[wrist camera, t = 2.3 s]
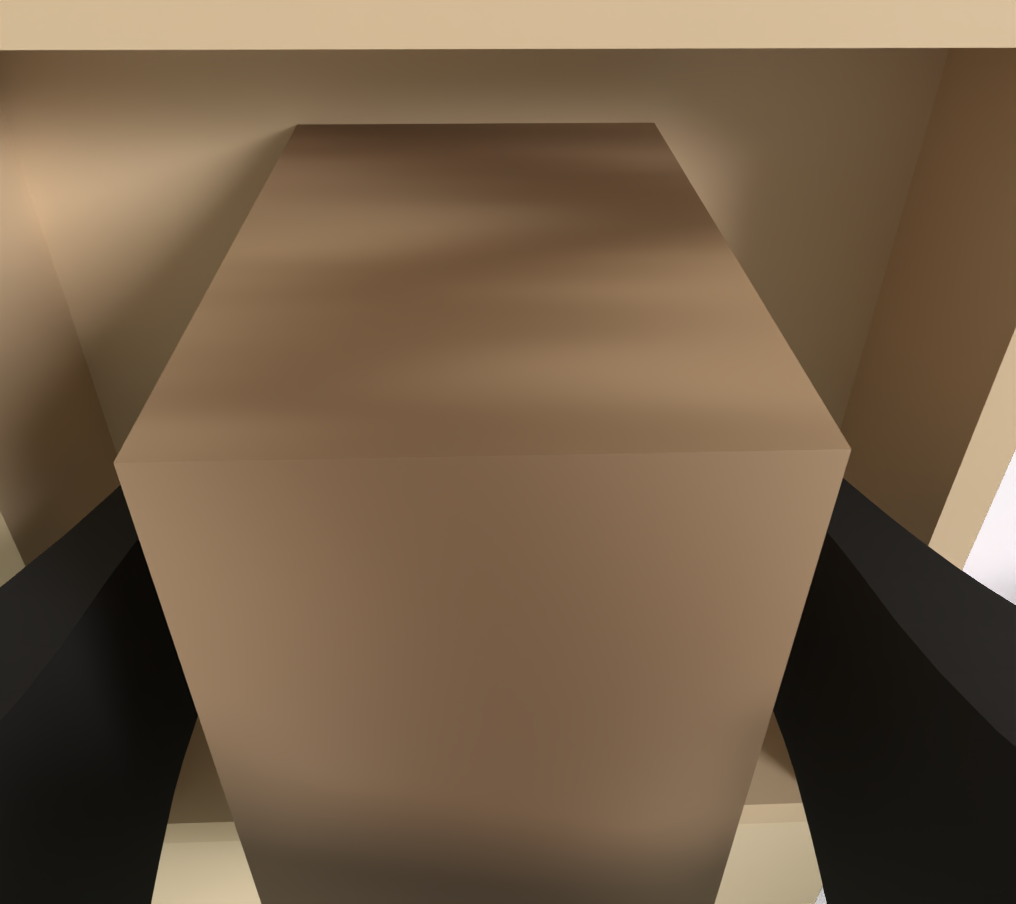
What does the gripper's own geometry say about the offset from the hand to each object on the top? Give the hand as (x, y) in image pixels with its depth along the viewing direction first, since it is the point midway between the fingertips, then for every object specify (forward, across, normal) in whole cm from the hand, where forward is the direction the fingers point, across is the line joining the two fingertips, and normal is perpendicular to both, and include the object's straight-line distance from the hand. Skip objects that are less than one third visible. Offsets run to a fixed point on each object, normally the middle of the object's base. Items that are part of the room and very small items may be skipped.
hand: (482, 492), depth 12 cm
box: (+2, 0, 0) cm, 2 cm away
